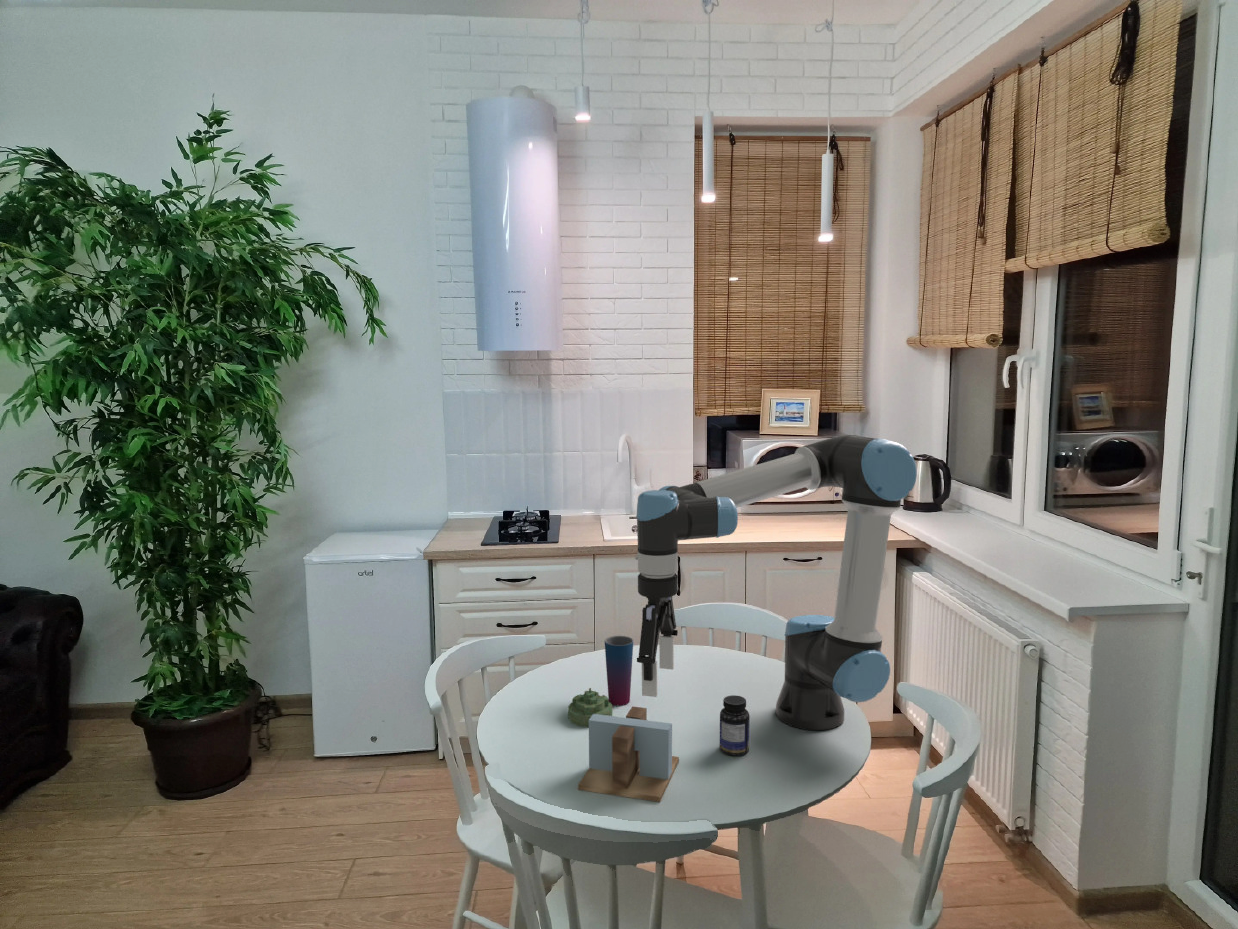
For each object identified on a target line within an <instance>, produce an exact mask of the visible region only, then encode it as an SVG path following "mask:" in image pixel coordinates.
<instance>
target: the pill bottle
mask: <svg viewBox="0 0 1238 929" xmlns="http://www.w3.org/2000/svg"><path fill="white" fill-rule="evenodd" d="M722 701H723V708H722V709H721V710H720V711H719V712H720V713H719V750H720V751H721V753H722V754H725V755H727V756H731V757H740V756H744V755H746V754H748V752H749V750H750V711H748V710H747V699H746V698H745V697H744V696H741V695H734V694H733V695H732V694H731V695H726V696H725V697H723V700H722Z"/></svg>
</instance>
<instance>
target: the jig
mask: <svg viewBox="0 0 1238 929" xmlns="http://www.w3.org/2000/svg"><path fill="white" fill-rule="evenodd" d="M647 709H648V708H647V707H639V706H633V705H632V706H631V708H630V709H629V711H628V712H627V714H626V715H625V718H632V719H640V720H647V713H648V712H647ZM679 762H680V757H679V756H675V755H672V773H671V775H670V777H669V780H667V779H660V778H653V777H646V776H639V751H635V750H634V728H632V727H624V726H619V727H618V729H617V730H616V732H615V733H614V735H613V736H612V772H611V771H604V770H597V769H590V768H589V767H588V769H587V771H586V772H585V774H584V775H583V776H582V778H581V780H580V781H579V783H578V786H577V790H578V791H584V792H592V793H597V794H606V795H612V796H616V797H623V798H624V797H625V798H632V799H638V800H643V801H651V802H658V803H661V801H662V799H663V798H664V795H665V793H666V790H667V789H668V786H669V784H670V781H671V779H672V778H673V776H674V773H675V771H676V769H677V766H678V764H679Z"/></svg>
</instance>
